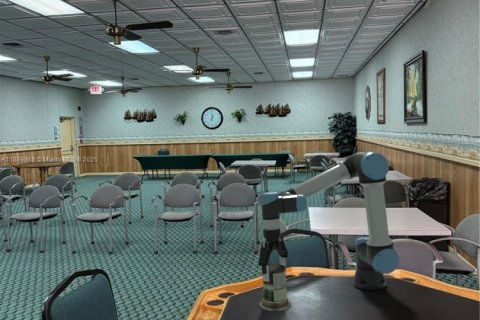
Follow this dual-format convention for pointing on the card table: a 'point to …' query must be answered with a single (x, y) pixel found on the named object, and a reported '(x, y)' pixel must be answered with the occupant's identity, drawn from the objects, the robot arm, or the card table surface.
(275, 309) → the brown domed disc
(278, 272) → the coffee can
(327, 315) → the card table surface
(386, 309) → the card table surface
